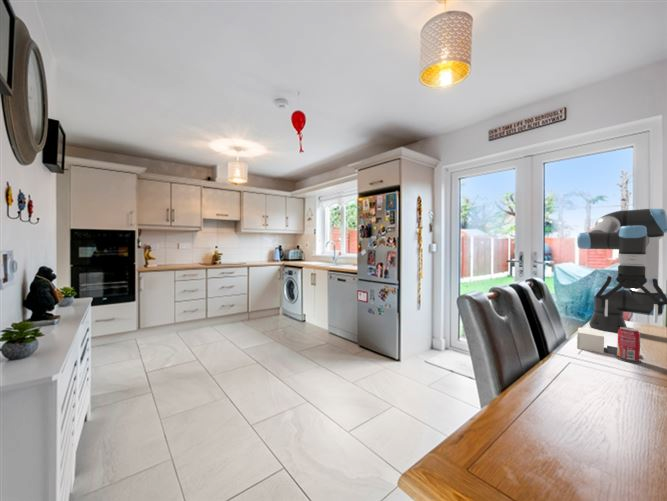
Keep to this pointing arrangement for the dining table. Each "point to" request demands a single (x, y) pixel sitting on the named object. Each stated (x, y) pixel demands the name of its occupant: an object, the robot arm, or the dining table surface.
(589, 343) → the large cream box
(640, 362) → the coaster
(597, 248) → the robot arm
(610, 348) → the slate tile
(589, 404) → the dining table surface
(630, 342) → the beverage can
